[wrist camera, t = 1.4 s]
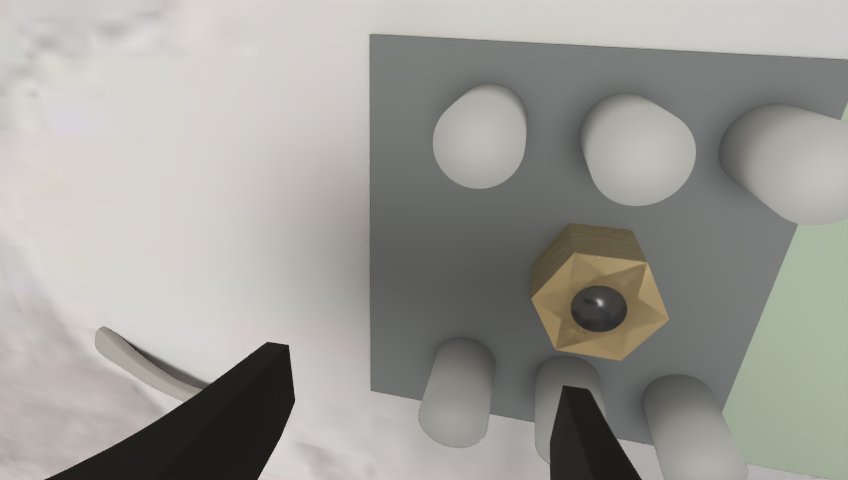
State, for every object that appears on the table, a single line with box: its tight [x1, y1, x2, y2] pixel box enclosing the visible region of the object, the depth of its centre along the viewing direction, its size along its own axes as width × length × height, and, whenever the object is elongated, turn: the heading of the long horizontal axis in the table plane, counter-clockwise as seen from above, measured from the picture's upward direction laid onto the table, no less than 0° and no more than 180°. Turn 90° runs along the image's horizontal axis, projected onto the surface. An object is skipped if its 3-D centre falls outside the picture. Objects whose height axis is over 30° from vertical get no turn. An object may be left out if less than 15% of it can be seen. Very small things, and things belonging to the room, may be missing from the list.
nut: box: [531, 223, 669, 361], centre depth 19 cm, size 4×5×3 cm
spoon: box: [95, 327, 203, 402], centre depth 29 cm, size 3×12×2 cm, turn 68°
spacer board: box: [370, 34, 848, 480], centre depth 18 cm, size 18×26×4 cm
